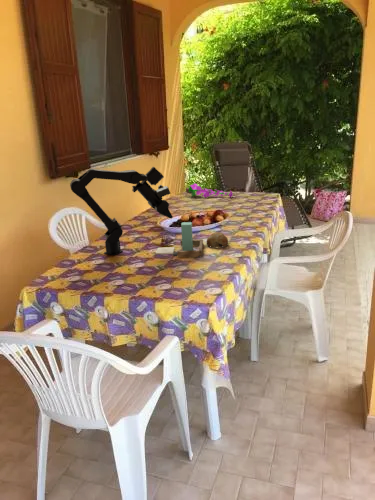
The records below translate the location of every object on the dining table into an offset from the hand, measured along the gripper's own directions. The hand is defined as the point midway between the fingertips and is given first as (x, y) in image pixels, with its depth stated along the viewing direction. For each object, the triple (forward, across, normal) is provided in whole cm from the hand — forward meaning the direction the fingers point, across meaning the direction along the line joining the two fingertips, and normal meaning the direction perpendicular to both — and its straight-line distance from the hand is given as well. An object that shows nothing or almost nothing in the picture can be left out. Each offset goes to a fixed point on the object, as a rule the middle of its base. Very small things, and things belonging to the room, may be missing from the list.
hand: (169, 215), depth 205 cm
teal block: (+14, -13, +5) cm, 20 cm away
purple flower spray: (+46, +98, -36) cm, 114 cm away
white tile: (+8, -9, +13) cm, 18 cm away
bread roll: (+24, -11, -6) cm, 27 cm away
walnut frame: (+15, -13, +4) cm, 20 cm away
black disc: (+11, -16, +10) cm, 21 cm away
